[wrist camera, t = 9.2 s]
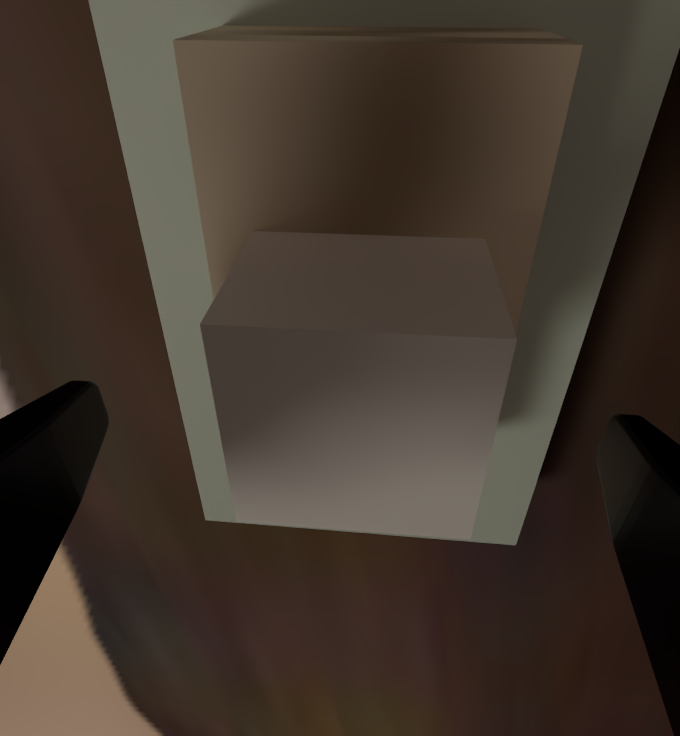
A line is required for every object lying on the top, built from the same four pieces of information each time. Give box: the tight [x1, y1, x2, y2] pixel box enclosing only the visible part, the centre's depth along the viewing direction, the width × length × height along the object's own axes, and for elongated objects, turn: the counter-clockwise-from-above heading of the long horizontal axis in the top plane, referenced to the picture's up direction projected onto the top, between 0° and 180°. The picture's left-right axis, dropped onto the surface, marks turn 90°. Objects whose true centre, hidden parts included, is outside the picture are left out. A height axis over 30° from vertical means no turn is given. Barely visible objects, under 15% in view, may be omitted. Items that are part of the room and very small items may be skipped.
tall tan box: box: [173, 25, 583, 335], centre depth 13 cm, size 6×11×3 cm, turn 0°
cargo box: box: [200, 231, 517, 540], centre depth 10 cm, size 4×4×4 cm
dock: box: [89, 0, 680, 545], centre depth 15 cm, size 12×22×3 cm, turn 0°
